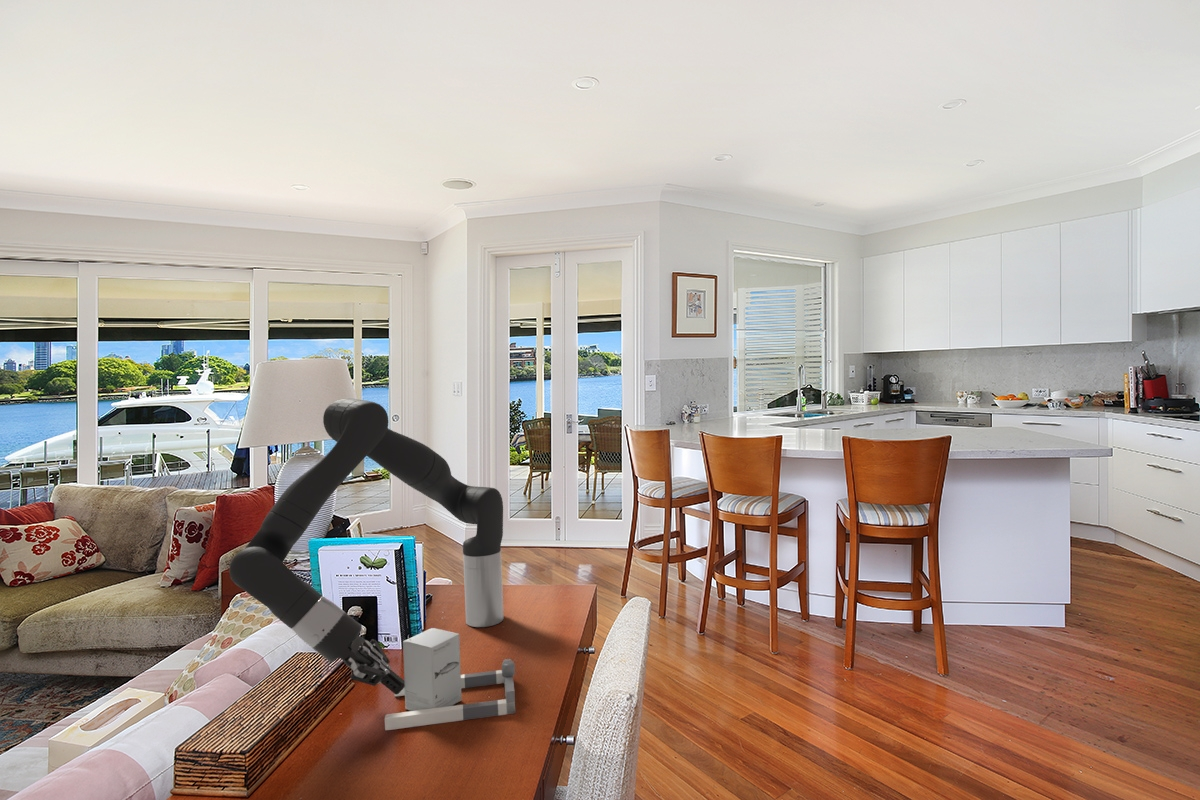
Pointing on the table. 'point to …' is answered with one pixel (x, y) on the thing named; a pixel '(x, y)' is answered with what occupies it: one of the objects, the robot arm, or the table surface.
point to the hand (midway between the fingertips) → (401, 688)
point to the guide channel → (466, 709)
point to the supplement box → (432, 670)
